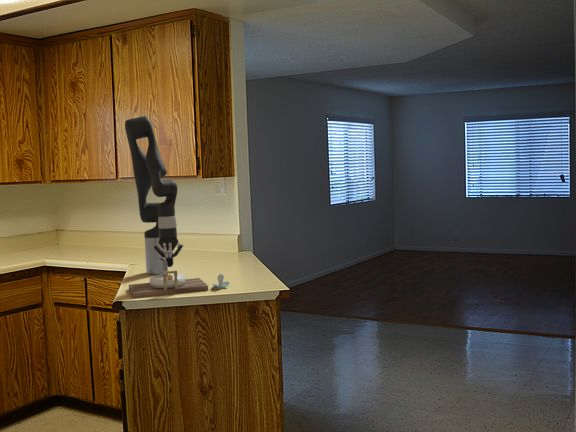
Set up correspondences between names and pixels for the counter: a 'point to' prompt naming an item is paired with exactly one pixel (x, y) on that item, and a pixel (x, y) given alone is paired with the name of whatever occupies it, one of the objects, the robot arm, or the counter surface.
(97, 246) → the counter surface
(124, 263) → the counter surface
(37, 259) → the counter surface
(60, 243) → the counter surface
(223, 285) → the pacifier
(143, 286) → the stand
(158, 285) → the cam foot
